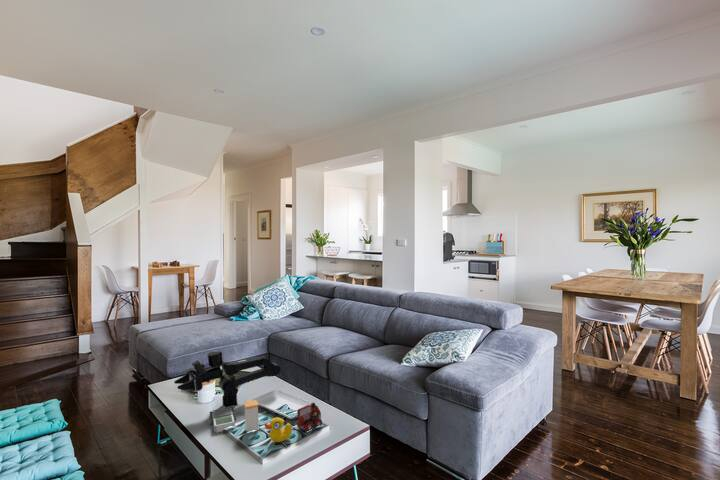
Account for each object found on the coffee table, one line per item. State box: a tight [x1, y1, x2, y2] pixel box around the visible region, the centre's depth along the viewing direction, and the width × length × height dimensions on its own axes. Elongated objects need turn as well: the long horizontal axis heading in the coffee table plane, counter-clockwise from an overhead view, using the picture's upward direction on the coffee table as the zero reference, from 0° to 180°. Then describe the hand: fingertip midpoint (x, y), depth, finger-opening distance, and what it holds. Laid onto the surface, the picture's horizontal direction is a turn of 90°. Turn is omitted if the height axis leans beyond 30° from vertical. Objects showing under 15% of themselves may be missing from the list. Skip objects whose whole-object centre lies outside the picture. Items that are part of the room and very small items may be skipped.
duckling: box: [264, 417, 293, 443], centre depth 159 cm, size 11×5×10 cm, turn 115°
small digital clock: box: [209, 406, 237, 434], centre depth 176 cm, size 11×17×3 cm, turn 24°
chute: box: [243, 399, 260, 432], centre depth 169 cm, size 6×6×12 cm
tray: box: [252, 389, 317, 420], centre depth 190 cm, size 17×32×4 cm, turn 51°
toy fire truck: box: [296, 402, 323, 433], centre depth 170 cm, size 7×12×10 cm, turn 135°
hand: (175, 385), depth 180 cm, fingers open, 9 cm apart
